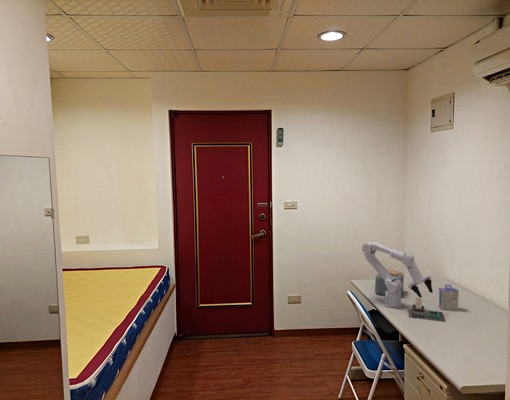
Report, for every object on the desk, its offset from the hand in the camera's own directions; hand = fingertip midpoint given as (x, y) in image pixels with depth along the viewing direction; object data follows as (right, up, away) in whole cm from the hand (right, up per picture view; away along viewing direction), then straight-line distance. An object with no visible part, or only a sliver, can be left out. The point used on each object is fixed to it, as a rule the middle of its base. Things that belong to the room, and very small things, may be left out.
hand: (426, 294), depth 212 cm
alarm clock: (-8, -9, +36) cm, 38 cm away
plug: (-4, -9, +1) cm, 10 cm away
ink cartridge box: (+18, -11, +9) cm, 23 cm away
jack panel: (-1, -12, -1) cm, 12 cm away
